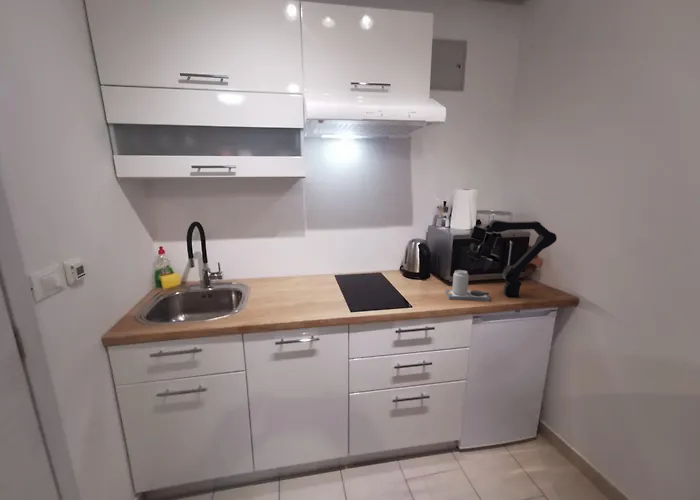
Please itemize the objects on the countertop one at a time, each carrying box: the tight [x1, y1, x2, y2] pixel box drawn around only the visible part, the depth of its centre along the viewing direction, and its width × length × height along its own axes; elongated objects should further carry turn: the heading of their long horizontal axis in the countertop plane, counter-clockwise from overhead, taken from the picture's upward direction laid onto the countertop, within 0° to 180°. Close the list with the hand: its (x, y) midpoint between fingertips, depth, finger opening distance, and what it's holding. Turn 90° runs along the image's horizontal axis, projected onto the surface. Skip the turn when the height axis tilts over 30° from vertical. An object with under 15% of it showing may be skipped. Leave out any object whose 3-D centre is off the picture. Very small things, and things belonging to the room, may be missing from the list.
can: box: [451, 269, 470, 295], centre depth 169 cm, size 8×8×12 cm
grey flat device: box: [445, 289, 491, 302], centre depth 170 cm, size 21×10×3 cm, turn 84°
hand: (477, 270), depth 173 cm, fingers open, 9 cm apart
